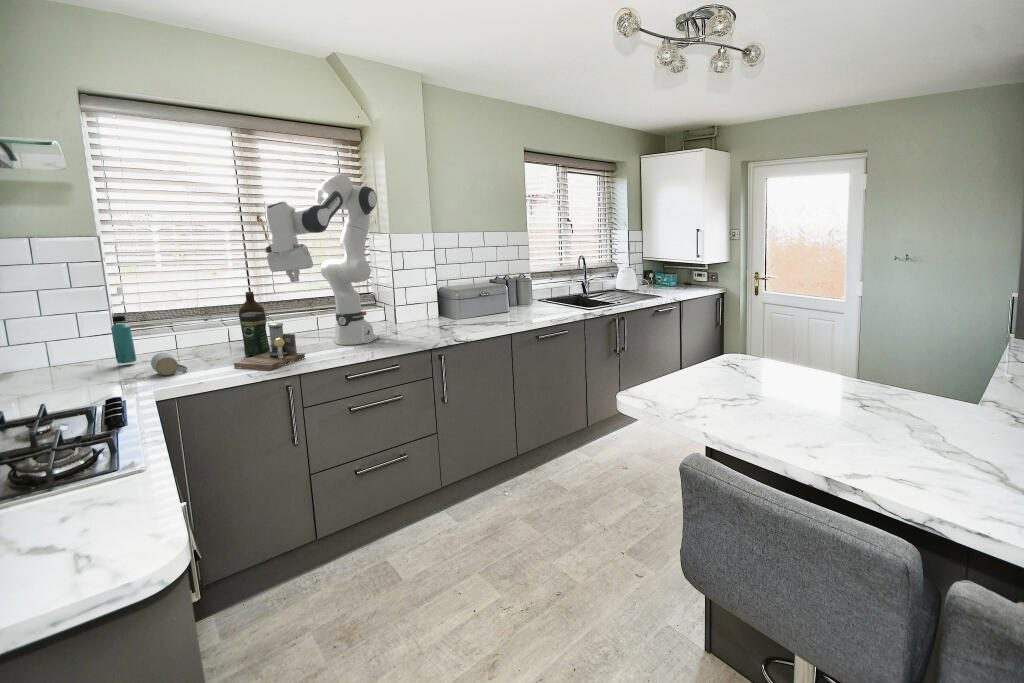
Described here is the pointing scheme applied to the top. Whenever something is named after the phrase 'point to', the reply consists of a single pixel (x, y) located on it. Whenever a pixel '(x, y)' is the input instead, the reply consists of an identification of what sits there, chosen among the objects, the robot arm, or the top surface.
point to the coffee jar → (254, 333)
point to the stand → (272, 363)
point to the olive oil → (250, 307)
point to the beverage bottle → (123, 341)
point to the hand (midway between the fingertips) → (295, 281)
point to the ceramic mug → (166, 364)
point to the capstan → (277, 340)
